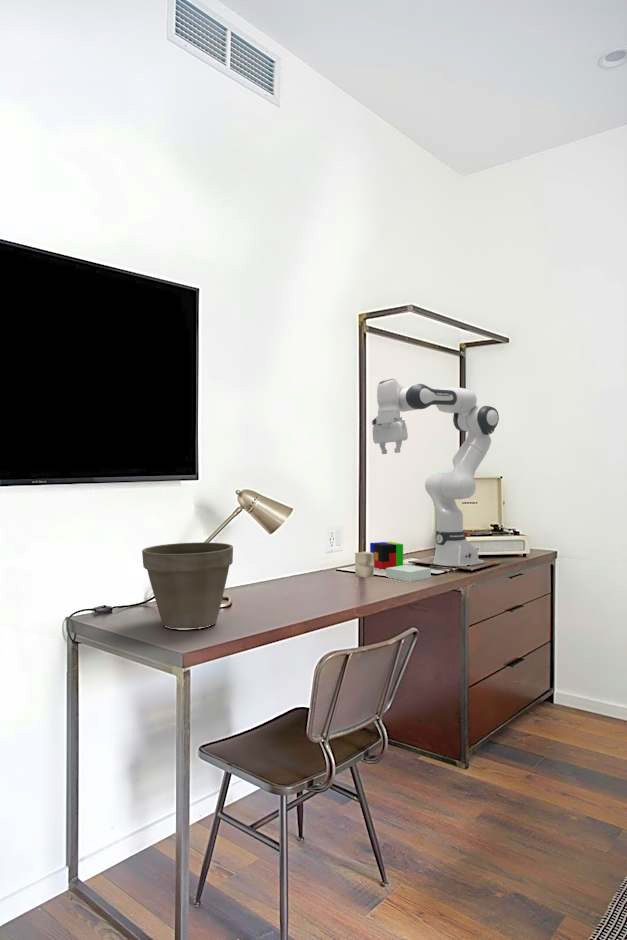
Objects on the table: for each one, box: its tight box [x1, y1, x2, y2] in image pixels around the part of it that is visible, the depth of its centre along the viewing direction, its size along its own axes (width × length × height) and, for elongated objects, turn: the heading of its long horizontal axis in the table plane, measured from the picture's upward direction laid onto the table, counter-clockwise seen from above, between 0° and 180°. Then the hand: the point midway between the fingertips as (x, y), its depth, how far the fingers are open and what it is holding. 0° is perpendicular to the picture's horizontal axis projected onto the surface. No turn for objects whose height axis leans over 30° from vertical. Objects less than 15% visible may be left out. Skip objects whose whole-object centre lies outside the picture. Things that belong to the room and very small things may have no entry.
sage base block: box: [385, 564, 432, 583], centre depth 262 cm, size 12×12×4 cm
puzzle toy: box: [369, 541, 404, 570], centre depth 287 cm, size 10×10×10 cm
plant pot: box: [141, 542, 234, 628], centre depth 190 cm, size 25×25×22 cm
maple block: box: [354, 551, 375, 578], centre depth 266 cm, size 5×5×9 cm
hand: (390, 453), depth 277 cm, fingers open, 8 cm apart
